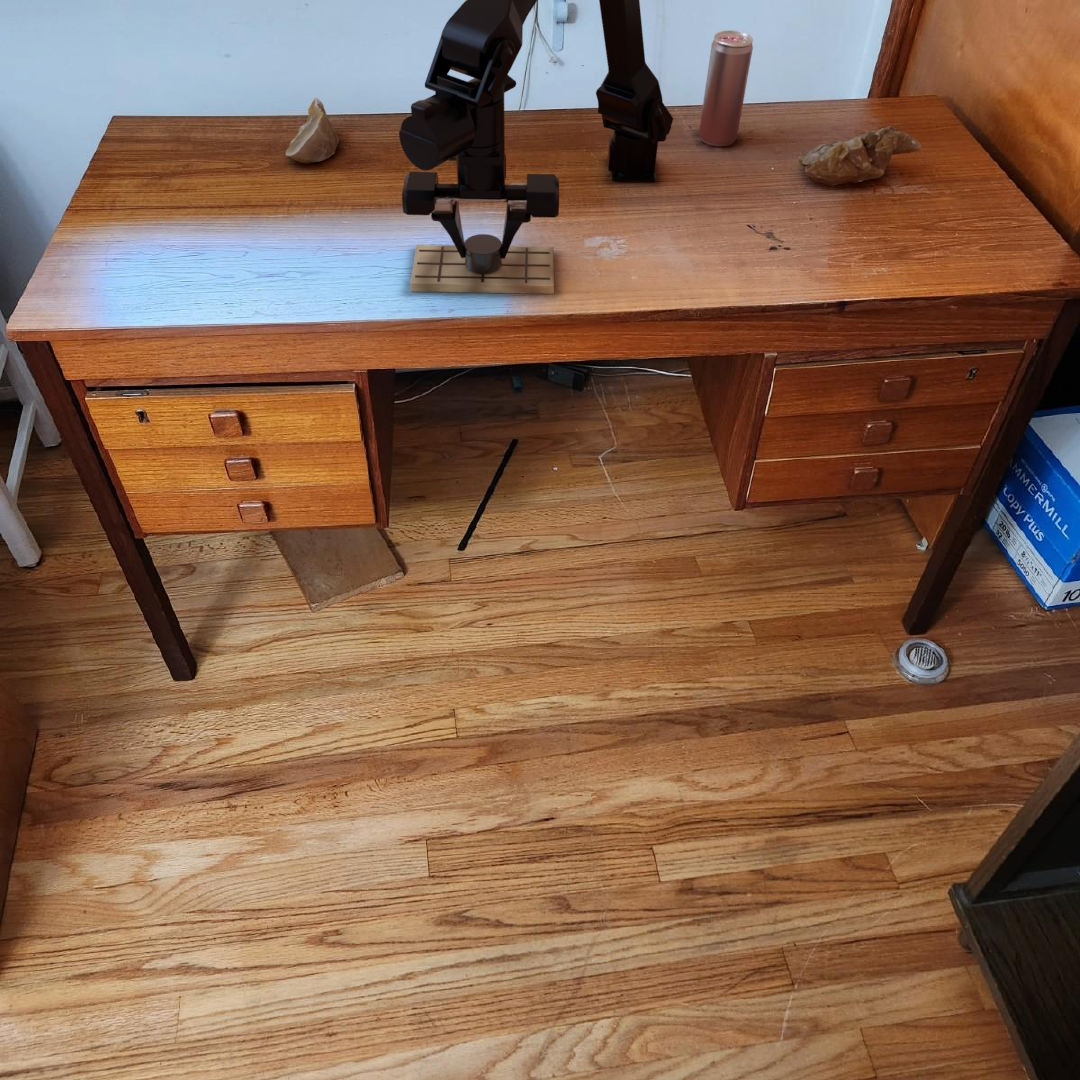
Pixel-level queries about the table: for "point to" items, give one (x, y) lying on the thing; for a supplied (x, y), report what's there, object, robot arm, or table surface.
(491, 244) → the dark brown cylinder
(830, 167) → the mineral specimen
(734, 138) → the beverage can
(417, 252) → the board
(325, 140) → the stone
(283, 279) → the table surface
